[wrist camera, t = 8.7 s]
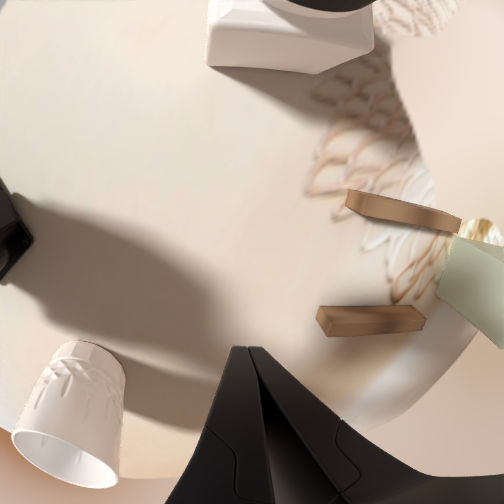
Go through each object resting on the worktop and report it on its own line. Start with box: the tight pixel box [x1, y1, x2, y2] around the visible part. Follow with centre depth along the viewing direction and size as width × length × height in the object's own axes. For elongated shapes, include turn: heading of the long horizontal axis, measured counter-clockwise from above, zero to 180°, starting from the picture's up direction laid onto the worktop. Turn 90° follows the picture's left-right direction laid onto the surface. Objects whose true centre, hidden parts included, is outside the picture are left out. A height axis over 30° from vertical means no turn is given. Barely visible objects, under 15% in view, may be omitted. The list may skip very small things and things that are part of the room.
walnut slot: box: [316, 189, 461, 337], centre depth 21 cm, size 10×10×2 cm
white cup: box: [12, 340, 126, 488], centre depth 17 cm, size 8×8×10 cm
